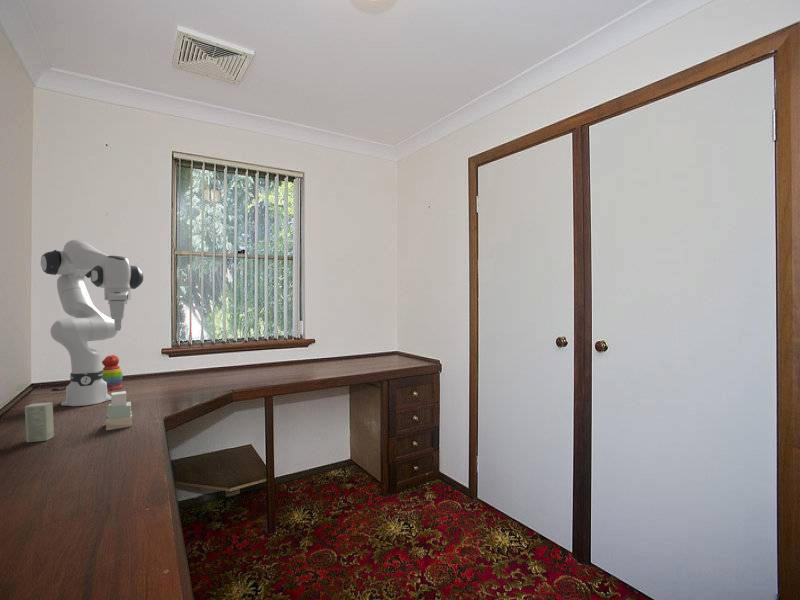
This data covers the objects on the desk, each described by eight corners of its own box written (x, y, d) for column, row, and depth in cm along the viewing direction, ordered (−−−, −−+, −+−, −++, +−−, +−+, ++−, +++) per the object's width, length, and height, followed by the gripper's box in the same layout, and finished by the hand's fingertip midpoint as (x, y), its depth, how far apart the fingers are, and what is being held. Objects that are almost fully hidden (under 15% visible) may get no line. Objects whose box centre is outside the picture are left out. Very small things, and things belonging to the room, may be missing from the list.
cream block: (111, 404, 157) (111, 392, 157) (125, 402, 160) (125, 391, 160) (112, 407, 154) (111, 395, 153) (126, 405, 156) (126, 393, 156)
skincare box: (54, 436, 144) (54, 401, 144) (46, 441, 140) (46, 405, 140) (33, 438, 143) (32, 403, 143) (24, 442, 139) (24, 406, 139)
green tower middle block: (109, 414, 158) (108, 404, 158) (131, 411, 162) (130, 401, 162) (107, 419, 152) (107, 408, 152) (130, 416, 156) (130, 405, 156)
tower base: (106, 425, 158) (106, 414, 158) (131, 421, 162) (131, 411, 162) (106, 430, 151) (105, 419, 151) (132, 426, 156) (132, 416, 156)
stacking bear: (103, 387, 223) (103, 354, 222) (125, 386, 226) (125, 353, 225) (96, 392, 212) (95, 357, 212) (119, 390, 215) (118, 356, 215)
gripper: (109, 295, 176) (109, 328, 176) (106, 295, 159) (107, 332, 159) (127, 295, 179) (127, 327, 179) (126, 295, 162) (127, 331, 162)
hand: (118, 329), depth 169 cm, fingers open, 8 cm apart
